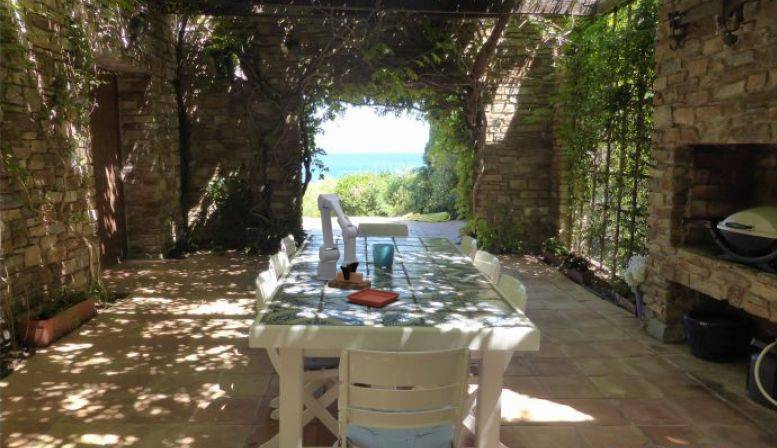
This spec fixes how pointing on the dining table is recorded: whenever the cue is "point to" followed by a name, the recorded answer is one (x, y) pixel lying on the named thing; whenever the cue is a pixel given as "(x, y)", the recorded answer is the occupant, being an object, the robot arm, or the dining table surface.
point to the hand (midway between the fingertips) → (349, 278)
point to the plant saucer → (373, 297)
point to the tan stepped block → (351, 277)
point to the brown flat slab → (349, 285)
